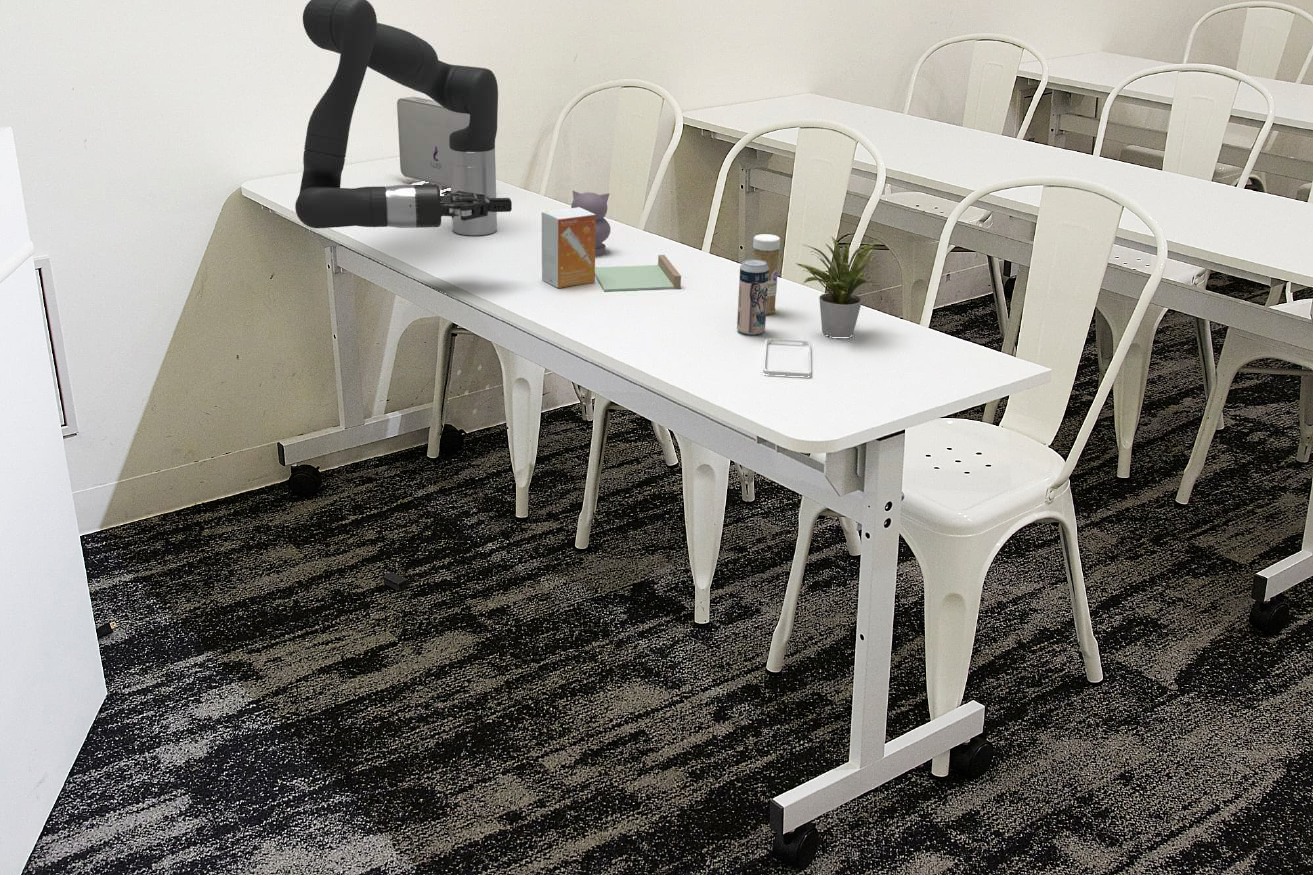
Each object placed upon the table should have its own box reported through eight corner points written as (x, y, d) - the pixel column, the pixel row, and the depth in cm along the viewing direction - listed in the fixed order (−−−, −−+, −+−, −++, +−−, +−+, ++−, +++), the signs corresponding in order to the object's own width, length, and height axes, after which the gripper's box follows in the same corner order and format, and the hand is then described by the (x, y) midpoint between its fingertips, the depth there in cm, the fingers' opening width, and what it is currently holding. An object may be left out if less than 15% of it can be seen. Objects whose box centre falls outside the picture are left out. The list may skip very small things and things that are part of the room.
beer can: (756, 338, 218) (760, 268, 213) (731, 332, 220) (735, 263, 215) (770, 330, 221) (774, 261, 217) (745, 325, 224) (748, 256, 219)
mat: (591, 269, 251) (591, 257, 250) (664, 266, 254) (664, 254, 253) (604, 291, 239) (604, 278, 238) (680, 288, 242) (680, 275, 241)
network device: (393, 184, 311) (388, 98, 303) (422, 179, 317) (418, 94, 309) (467, 203, 296) (464, 113, 288) (495, 197, 302) (493, 108, 294)
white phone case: (810, 381, 202) (809, 348, 215) (811, 373, 201) (810, 340, 215) (762, 378, 202) (764, 345, 216) (763, 370, 202) (765, 338, 215)
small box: (558, 289, 240) (557, 219, 234) (541, 280, 244) (540, 211, 239) (596, 282, 244) (596, 213, 238) (578, 274, 249) (578, 206, 243)
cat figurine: (562, 255, 260) (561, 195, 255) (575, 245, 267) (575, 186, 262) (603, 259, 258) (603, 199, 253) (615, 249, 265) (616, 190, 260)
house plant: (833, 312, 231) (841, 221, 224) (898, 332, 222) (908, 238, 215) (780, 330, 222) (787, 235, 215) (845, 351, 213) (854, 253, 206)
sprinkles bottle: (772, 317, 228) (777, 241, 223) (746, 313, 229) (751, 238, 224) (778, 309, 232) (783, 234, 227) (753, 306, 233) (757, 232, 228)
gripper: (413, 193, 225) (515, 192, 228) (410, 177, 237) (506, 176, 240) (415, 236, 228) (515, 234, 231) (412, 218, 240) (507, 216, 243)
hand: (511, 204), depth 236 cm, fingers closed
